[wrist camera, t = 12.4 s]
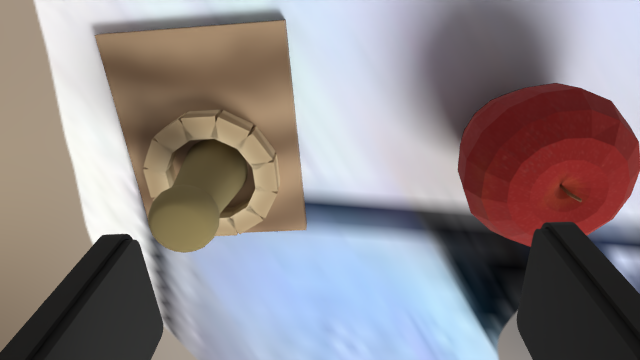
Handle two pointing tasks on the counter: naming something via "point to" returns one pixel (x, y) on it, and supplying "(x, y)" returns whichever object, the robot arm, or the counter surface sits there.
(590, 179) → the apple
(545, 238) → the robot arm
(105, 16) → the counter surface
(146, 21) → the counter surface
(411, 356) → the counter surface
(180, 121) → the beech ring
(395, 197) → the counter surface
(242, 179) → the cork
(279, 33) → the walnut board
